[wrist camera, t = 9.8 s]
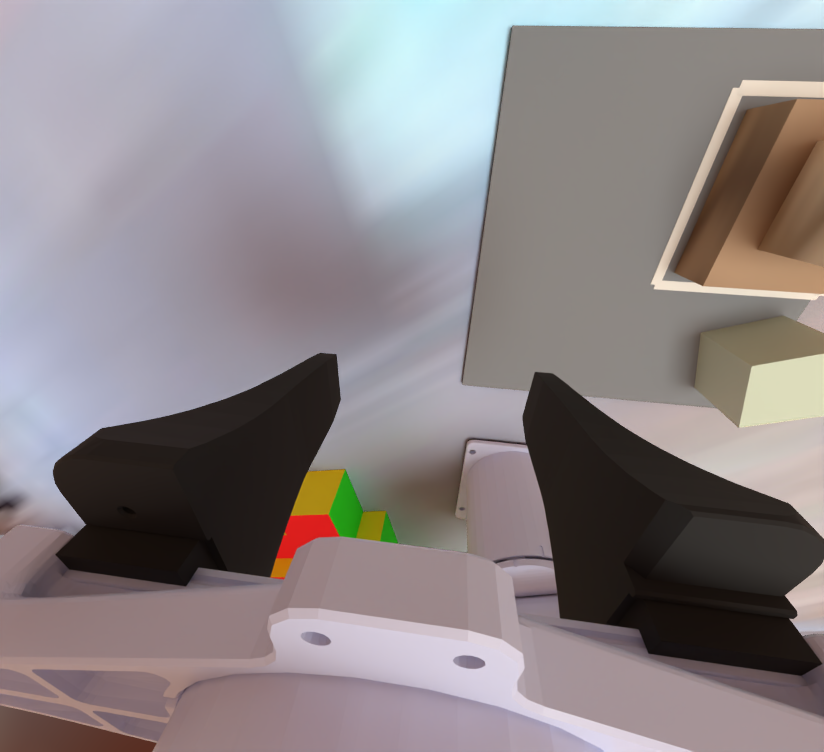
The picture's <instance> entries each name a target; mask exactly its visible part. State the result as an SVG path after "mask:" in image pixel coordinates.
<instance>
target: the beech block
mask: <svg viewBox="0 0 824 752" xmlns="http://www.w3.org/2000/svg"><path fill="white" fill-rule="evenodd" d="M757 250H761V251H765V252H768V253H772V254H776V255H780V256H784V257H787V258H791V259H795V260H799V261H803V262H807V263H810V264H814V265H818V266H822V267H824V141H817V143H816V145H815V147H814V148H813V150H812V152H811V154H810V156H809V157H808V159H807V161H806V163H805V165H804V167H803V168H802V170H801V172H800V174H799V176H798V177H797V179H796V181H795V183H794V185H793V186H792V188H791V190H790V192H789V194H788V195H787V197H786V199H785V201H784V203H783V204H782V206H781V208H780V210H779V212H778V213H777V215H776V217H775V219H774V221H773V222H772V224H771V226H770V228H769V230H768V231H767V233H766V235H765V237H764V239H763V240H762V242H761V244H760V246H759V248H758V249H757Z"/></svg>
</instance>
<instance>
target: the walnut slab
mask: <svg viewBox="0 0 824 752" xmlns="http://www.w3.org/2000/svg"><path fill="white" fill-rule="evenodd" d="M817 141H824V100H818V99H795V100H790V101H785V102H780V103H776V104H771V105H766V106H761V107H757V108H752V109H747V111H746V113H745V116H744V118H743V120H742V122H741V124H740V127H739V129H738V131H737V133H736V136H735V138H734V140H733V142H732V145H731V147H730V149H729V151H728V153H727V156H726V158H725V160H724V162H723V165H722V167H721V169H720V171H719V173H718V176H717V178H716V180H715V182H714V185H713V187H712V189H711V191H710V194H709V196H708V198H707V200H706V202H705V205H704V207H703V209H702V211H701V214H700V216H699V218H698V220H697V223H696V225H695V227H694V229H693V231H692V234H691V236H690V238H689V240H688V243H687V245H686V247H685V249H684V252H683V254H682V256H681V258H680V260H679V263H678V265H677V267H676V269H675V272H674V273H676V274H678V275H680V276H682V277H684V278H686V279H688V280H691V281H693V282H695V283H697V284H699V285H701V286H707V287H722V288H738V289H753V290H768V291H783V292H798V293H813V294H824V267H822V266H818V265H814V264H810V263H807V262H803V261H799V260H795V259H791V258H787V257H784V256H780V255H776V254H772V253H768V252H765V251H761V250H757V249H758V248H759V246H760V244H761V242H762V240H763V239H764V237H765V235H766V233H767V231H768V230H769V228H770V226H771V224H772V222H773V221H774V219H775V217H776V215H777V213H778V212H779V210H780V208H781V206H782V204H783V203H784V201H785V199H786V197H787V195H788V194H789V192H790V190H791V188H792V186H793V185H794V183H795V181H796V179H797V177H798V176H799V174H800V172H801V170H802V168H803V167H804V165H805V163H806V161H807V159H808V157H809V156H810V154H811V152H812V150H813V148H814V147H815V145H816V143H817Z"/></svg>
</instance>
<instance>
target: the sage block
mask: <svg viewBox="0 0 824 752" xmlns="http://www.w3.org/2000/svg"><path fill="white" fill-rule="evenodd" d="M694 388H695V389H697V390H698V391H699V392H700V393H701V394H702V395H703V396H704V397H705V398H706V399H708V400H709V401H710V402H711V403H712V404H713V405H714V406H715V407H716V408H717V409H719V410H720V411H721V412H722V413H723V414H724V415H725V416H726V417H727V418H728V419H730V420H731V421H732V422H733V423H734V424H735V425H736V426H737V427H738V428H742V427H749V426H756V425H763V424H770V423H778V422H785V421H792V420H799V419H806V418H814V417H821V416H824V333H822V332H820V331H817V330H815V329H813V328H811V327H808V326H806V325H804V324H802V323H799V322H797V321H795V320H792V319H790V318H788V317H786V316H780V317H775V318H770V319H765V320H760V321H755V322H750V323H746V324H741V325H736V326H731V327H726V328H721V329H716V330H711V331H706V332H702V333H701V335H700V344H699V352H698V361H697V369H696V378H695V386H694Z"/></svg>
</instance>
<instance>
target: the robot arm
mask: <svg viewBox="0 0 824 752" xmlns="http://www.w3.org/2000/svg"><path fill="white" fill-rule="evenodd" d="M340 400H341V397H340V387H339V376H338V365H337V355H336V354H326V353H319V354H317V355H315V356H313V357H311V358H309V359H307V360H305V361H304V362H302V363H300V364H298V365H296V366H295V367H293V368H291V369H289V370H287V371H286V372H284V373H282V374H280V375H278V376H276V377H274V378H272V379H270V380H268V381H266V382H264V383H262V384H260V385H258V386H256V387H254V388H252V389H249V390H247V391H245V392H242V393H240V394H237V395H235V396H232V397H229V398H227V399H224V400H221V401H218V402H215V403H212V404H208V405H205V406H202V407H199V408H196V409H192V410H189V411H185V412H181V413H177V414H173V415H169V416H165V417H161V418H156V419H151V420H147V421H141V422H135V423H130V424H124V425H119V426H113V427H106V428H102V429H100V430H98V431H97V432H96V433H94V434H93V435H92V436H90V437H89V438H88V439H86V440H85V441H84V442H82V443H81V444H80V445H78V446H77V447H75V448H74V449H73V450H71V451H70V452H69V453H67V454H66V455H64V456H63V457H62V458H61V459H59V460H58V461H57V462H56V463H55V466H54V469H53V476H54V480H55V484H56V485H57V487H58V489H59V490H60V492H61V493H62V495H63V496H64V497H65V498H66V500H67V501H68V502H69V504H70V505H71V506H72V507H73V509H74V510H75V511H76V512H77V514H78V515H79V516H80V518H81V519H82V520H83V521H84V523H85V524H87V525H85V526H84V527H83V528H82V529H81V530H80V531H79V532H78V533H77V534H76V535H75V536H73V535H71V534H69V533H67V532H65V531H61V530H58V529H50V528H43V527H36V526H28V525H18V526H15V527H14V528H13V529H12V530H10V531H9V532H8V533H7V534H6V535H4V536H3V537H2V538H1V539H0V705H2V706H7V707H11V708H16V709H20V710H25V711H30V712H34V713H39V714H43V715H47V716H51V717H55V718H59V719H64V720H68V721H72V722H76V723H80V724H84V725H88V726H92V727H96V728H100V729H104V730H108V731H112V732H116V733H120V734H124V735H128V736H132V737H136V738H140V739H144V740H148V741H152V742H156V743H157V744H156V746H155V748H154V750H153V752H824V634H811V635H805V636H803V637H802V635H801V634H800V633H799V631H798V630H797V629H796V627H795V626H794V625H793V623H792V622H791V621H790V619H794V618H795V617H797V611H796V609H795V608H794V607H793V606H792V604H791V603H790V602H789V600H788V599H787V598H786V597H785V595H786V594H787V593H788V592H789V591H791V590H792V589H793V588H794V587H796V586H797V585H798V584H799V583H801V582H802V581H803V580H805V579H806V578H807V577H808V576H810V575H811V574H812V573H813V572H814V571H815V570H816V569H817V568H818V567H819V566H820V565H821V564H822V562H823V560H824V539H823V538H822V537H821V536H820V535H819V533H818V532H817V531H816V530H815V529H814V528H813V527H812V526H811V525H810V524H809V523H808V522H807V521H806V520H805V519H804V518H803V517H802V516H801V515H800V514H799V513H798V512H797V511H796V510H795V509H794V508H793V507H792V506H791V505H790V504H789V503H786V502H783V501H781V500H778V499H775V498H773V497H770V496H767V495H765V494H762V493H759V492H757V491H754V490H751V489H749V488H746V487H743V486H741V485H738V484H735V483H733V482H731V481H728V480H726V479H723V478H721V477H719V476H717V475H714V474H712V473H710V472H707V471H705V470H703V469H701V468H698V467H696V466H694V465H692V464H690V463H688V462H686V461H683V460H681V459H680V458H678V457H676V456H674V455H672V454H670V453H668V452H666V451H664V450H662V449H660V448H658V447H656V446H655V445H653V444H651V443H649V442H647V441H646V440H644V439H642V438H641V437H639V436H638V435H636V434H634V433H633V432H631V431H629V430H628V429H626V428H625V427H623V426H621V425H620V424H618V423H617V422H616V421H614V420H613V419H611V418H610V417H609V416H607V415H606V414H604V413H603V412H602V411H600V410H599V409H598V408H596V407H595V406H594V405H592V404H591V403H590V402H589V401H587V400H586V399H585V398H583V397H582V396H581V395H580V394H579V393H577V392H576V391H575V390H574V389H572V388H571V387H570V386H569V385H568V384H566V383H565V382H564V381H563V380H561V379H560V378H559V377H557V376H556V375H554V374H553V373H544V372H535V373H534V377H533V380H532V384H531V388H530V391H529V395H528V399H527V402H526V406H525V410H524V413H523V426H524V433H525V440H526V444H527V445H520V444H510V443H501V442H491V441H481V440H470V441H468V442H467V446H466V452H465V457H464V463H463V469H462V475H461V481H460V487H459V493H458V499H457V505H456V511H455V516H456V517H457V518H459V519H466V522H467V553H466V552H458V551H451V550H443V549H435V548H427V547H420V546H412V545H404V544H396V543H389V542H381V541H373V540H365V539H358V538H350V537H319V538H316V539H314V540H312V541H310V542H308V543H306V544H305V545H303V546H301V547H299V548H297V550H296V552H295V555H294V557H293V560H292V562H291V564H290V567H289V569H288V572H287V574H286V576H285V579H277V578H270V577H271V574H272V570H273V567H274V564H275V560H276V557H277V554H278V551H279V548H280V545H281V542H282V539H283V536H284V533H285V530H286V527H287V524H288V521H289V518H290V516H291V513H292V510H293V507H294V504H295V502H296V499H297V496H298V494H299V491H300V489H301V486H302V483H303V481H304V478H305V476H306V474H307V472H308V470H309V467H310V466H311V464H312V462H313V460H314V458H315V456H316V454H317V452H318V450H319V448H320V446H321V444H322V442H323V441H324V439H325V437H326V435H327V433H328V431H329V429H330V427H331V425H332V423H333V421H334V418H335V415H336V412H337V409H338V406H339V403H340ZM470 450H474V451H470ZM789 618H790V619H789Z"/></svg>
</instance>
